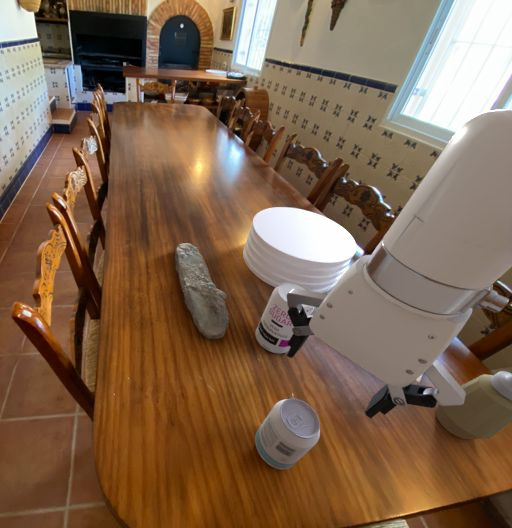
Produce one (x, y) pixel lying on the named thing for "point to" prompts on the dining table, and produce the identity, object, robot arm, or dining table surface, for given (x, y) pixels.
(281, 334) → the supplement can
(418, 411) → the dining table surface
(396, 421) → the dining table surface
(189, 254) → the long grey stone
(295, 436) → the beverage can
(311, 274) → the plate stack
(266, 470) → the dining table surface
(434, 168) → the robot arm
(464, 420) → the squeeze bottle
